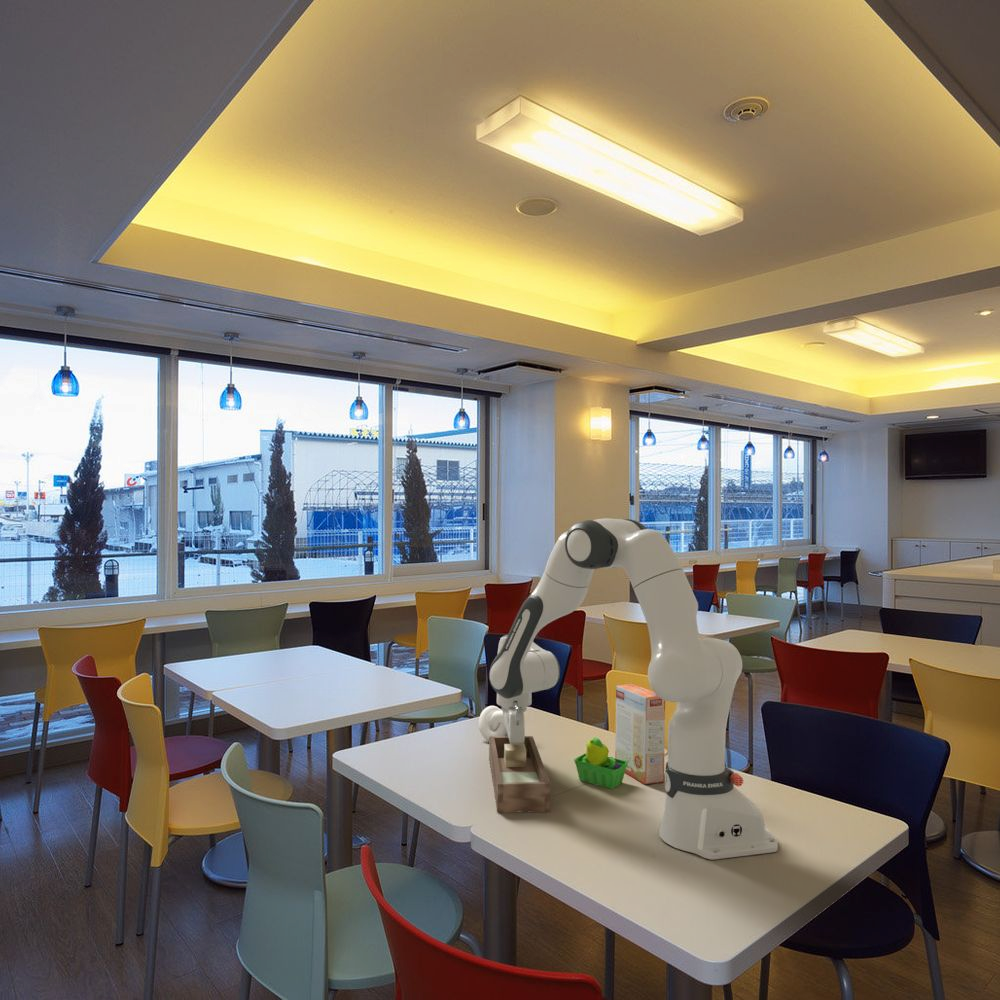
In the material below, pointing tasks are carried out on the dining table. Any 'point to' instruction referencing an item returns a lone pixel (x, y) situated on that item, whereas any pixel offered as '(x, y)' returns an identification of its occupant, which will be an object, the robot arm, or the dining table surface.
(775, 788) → the dining table surface
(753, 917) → the dining table surface
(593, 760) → the fruit basket
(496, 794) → the trap lane
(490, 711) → the white rounded piece
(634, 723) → the cracker box
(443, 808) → the dining table surface
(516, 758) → the maple block
